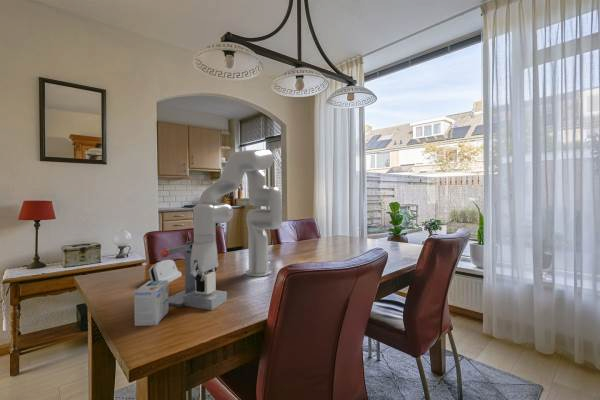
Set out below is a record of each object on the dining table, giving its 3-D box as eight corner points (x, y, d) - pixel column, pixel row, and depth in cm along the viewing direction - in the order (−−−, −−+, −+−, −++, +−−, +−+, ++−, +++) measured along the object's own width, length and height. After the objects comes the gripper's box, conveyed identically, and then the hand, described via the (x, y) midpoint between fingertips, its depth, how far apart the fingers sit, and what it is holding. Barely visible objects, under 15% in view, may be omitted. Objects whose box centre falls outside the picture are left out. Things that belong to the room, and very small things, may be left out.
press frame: (192, 289, 124) (191, 240, 123) (236, 295, 117) (236, 243, 116) (159, 303, 108) (159, 248, 107) (208, 311, 101) (208, 252, 100)
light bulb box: (148, 312, 100) (148, 280, 100) (169, 311, 101) (169, 279, 101) (133, 326, 90) (133, 290, 89) (157, 325, 90) (156, 290, 90)
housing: (204, 288, 111) (204, 267, 111) (215, 289, 110) (215, 268, 110) (195, 292, 107) (195, 271, 107) (207, 294, 105) (206, 272, 105)
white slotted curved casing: (162, 286, 128) (154, 264, 128) (152, 289, 128) (145, 267, 128) (182, 275, 144) (175, 255, 145) (173, 278, 145) (166, 258, 145)
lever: (199, 246, 127) (199, 239, 127) (206, 247, 126) (206, 239, 125) (157, 258, 105) (157, 248, 105) (164, 258, 104) (164, 249, 104)
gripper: (210, 234, 117) (211, 281, 118) (179, 242, 101) (180, 295, 102) (227, 235, 114) (227, 283, 115) (197, 243, 98) (198, 298, 99)
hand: (205, 288), depth 108 cm, fingers closed on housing, 4 cm apart
